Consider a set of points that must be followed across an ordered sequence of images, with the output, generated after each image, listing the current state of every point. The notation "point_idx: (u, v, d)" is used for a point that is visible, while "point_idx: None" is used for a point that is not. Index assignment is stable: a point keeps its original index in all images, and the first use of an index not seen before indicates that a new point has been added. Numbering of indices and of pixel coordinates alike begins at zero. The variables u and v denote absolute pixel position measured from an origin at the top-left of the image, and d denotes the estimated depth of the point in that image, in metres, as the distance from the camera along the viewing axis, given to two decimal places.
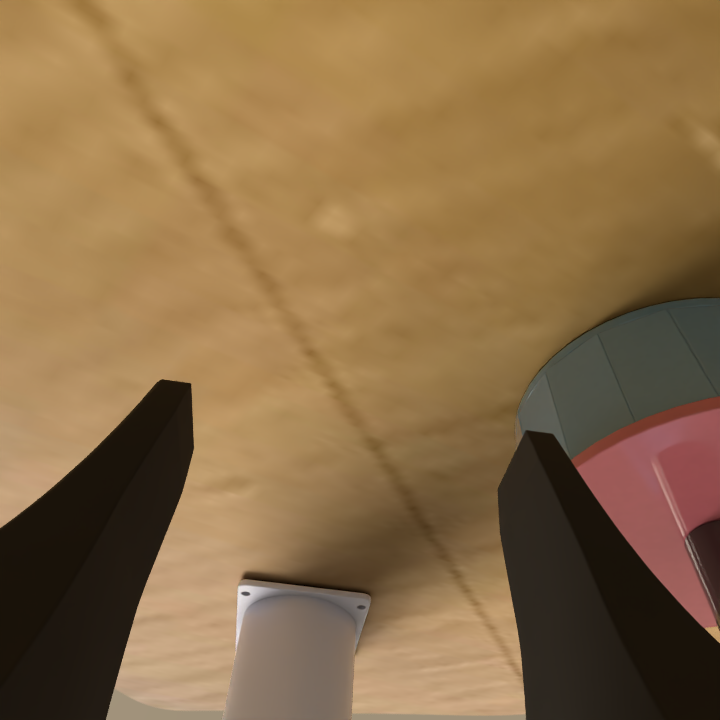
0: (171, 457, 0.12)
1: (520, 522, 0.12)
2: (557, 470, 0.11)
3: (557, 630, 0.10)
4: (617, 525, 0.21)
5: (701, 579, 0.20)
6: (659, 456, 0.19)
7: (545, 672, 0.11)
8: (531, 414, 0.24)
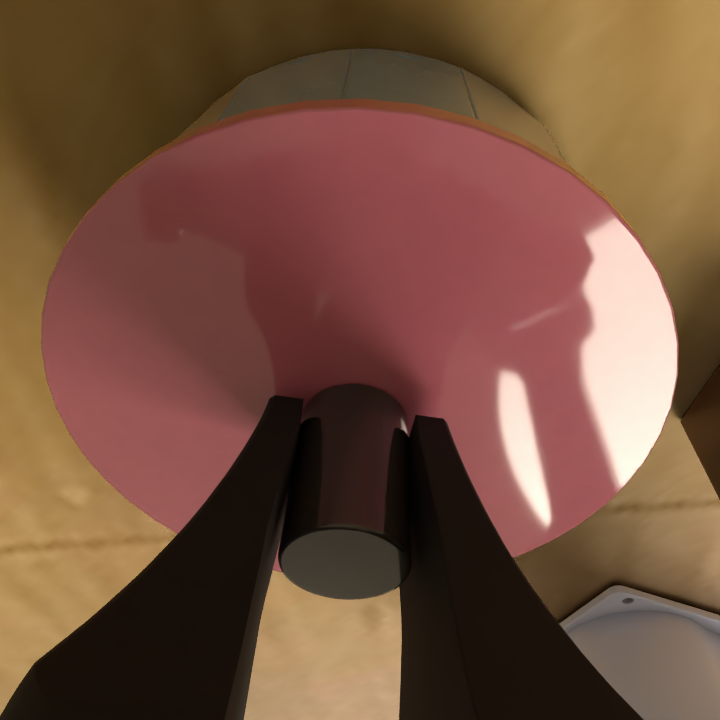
0: (290, 472, 0.12)
1: None
2: (435, 454, 0.11)
3: (422, 614, 0.10)
4: None
5: None
6: (157, 477, 0.15)
7: (413, 657, 0.10)
8: None
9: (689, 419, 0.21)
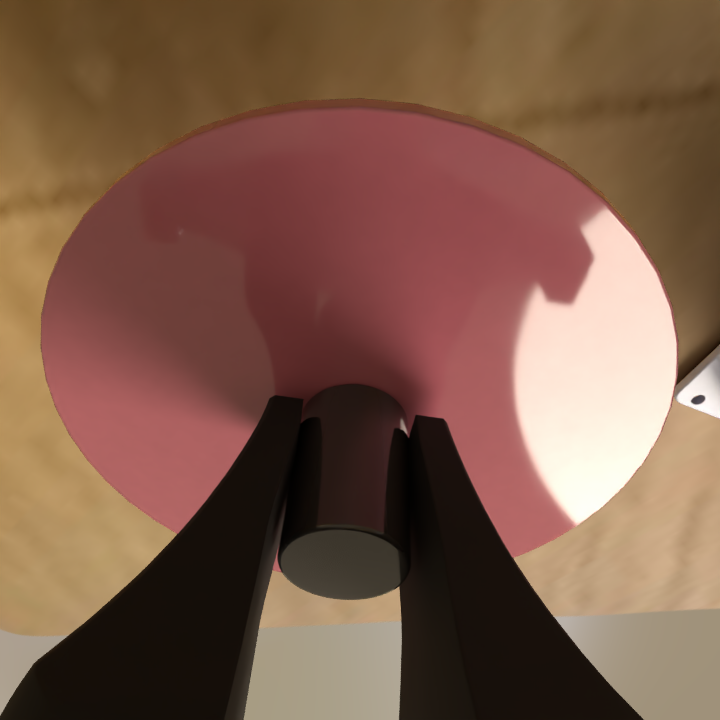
0: (290, 473, 0.12)
1: None
2: (435, 454, 0.11)
3: (422, 615, 0.10)
4: None
5: None
6: (157, 477, 0.15)
7: (412, 657, 0.10)
8: None
9: None
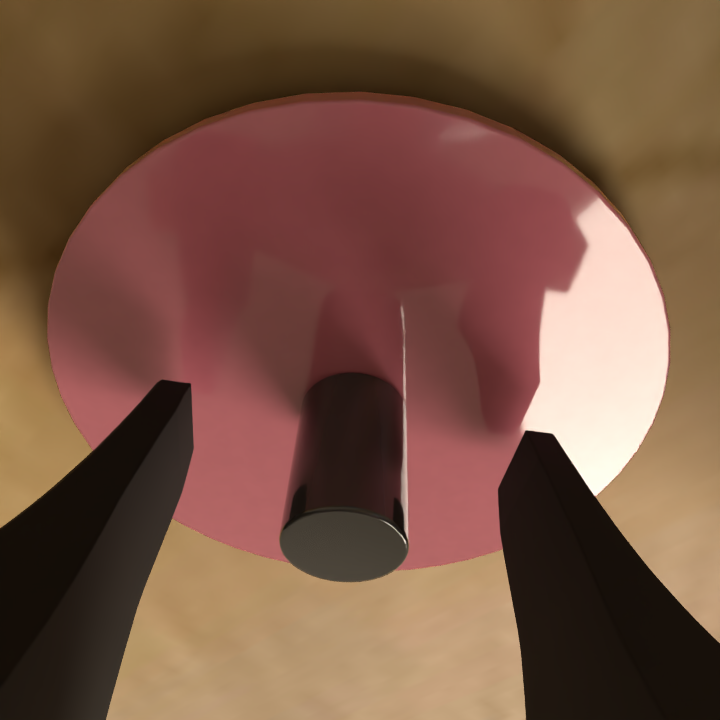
0: (171, 457, 0.12)
1: (520, 522, 0.12)
2: (557, 470, 0.11)
3: (557, 631, 0.10)
4: None
5: None
6: None
7: (545, 672, 0.11)
8: None
9: None
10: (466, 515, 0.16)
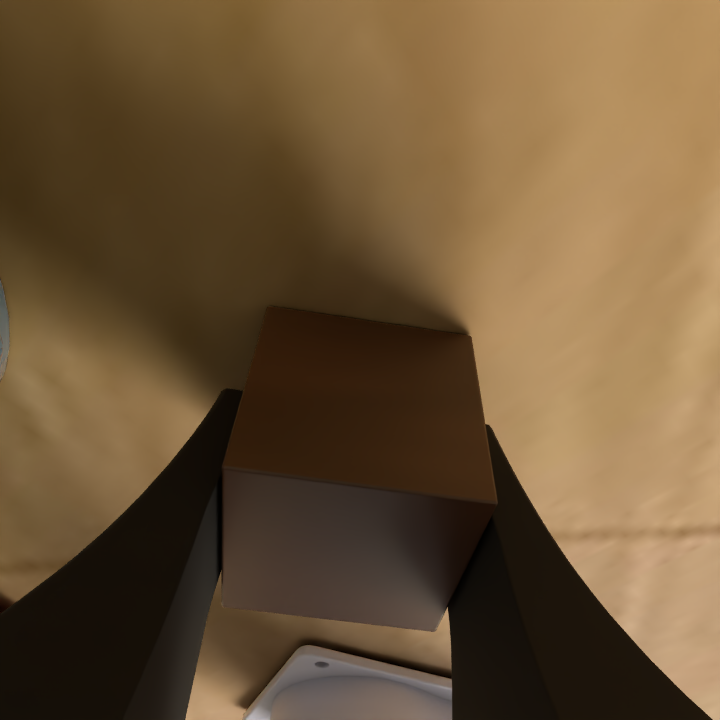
0: None
1: None
2: None
3: (478, 621, 0.10)
4: None
5: None
6: None
7: (467, 663, 0.10)
8: None
9: None
10: None
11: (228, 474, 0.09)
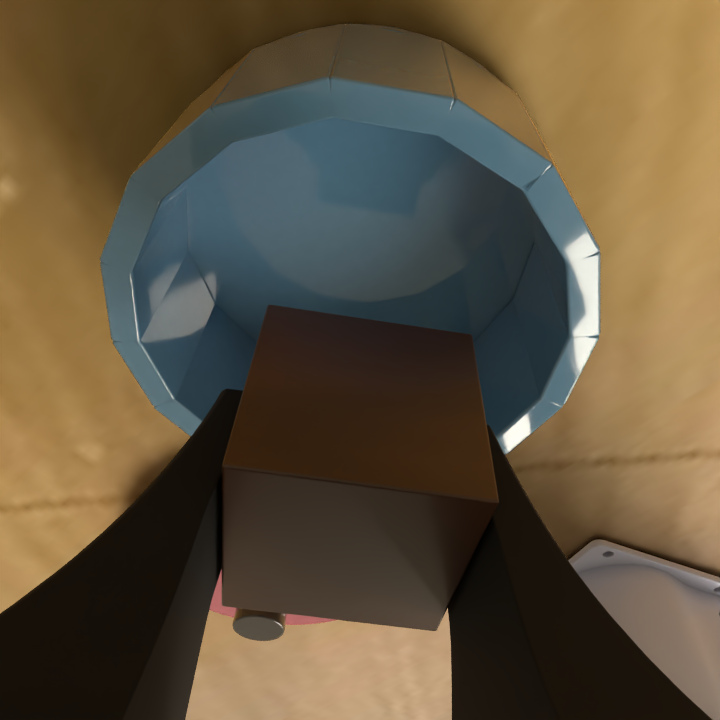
0: None
1: None
2: None
3: (477, 621, 0.10)
4: None
5: None
6: None
7: (467, 663, 0.10)
8: None
9: None
10: None
11: (228, 472, 0.09)
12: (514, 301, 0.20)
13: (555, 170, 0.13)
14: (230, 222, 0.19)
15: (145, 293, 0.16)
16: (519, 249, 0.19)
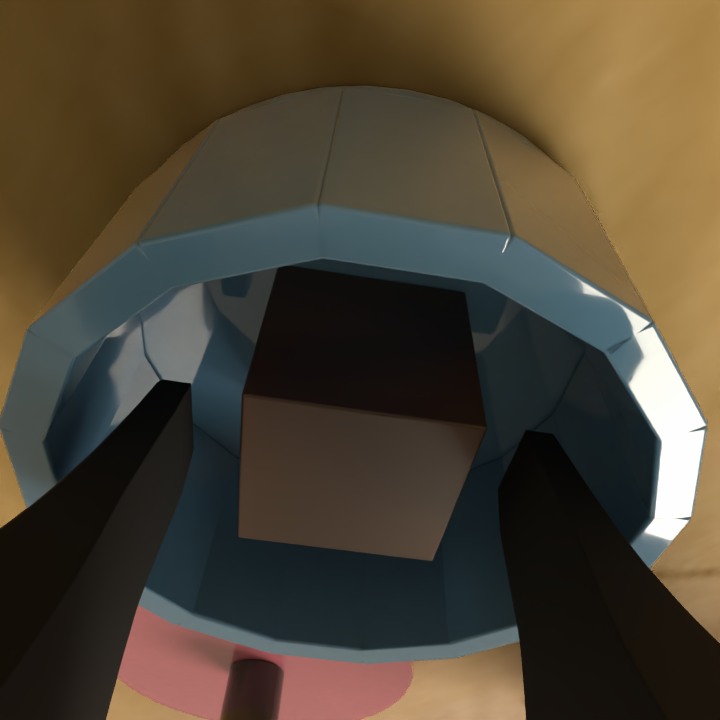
0: (171, 457, 0.12)
1: (520, 522, 0.12)
2: (557, 470, 0.11)
3: (557, 630, 0.10)
4: None
5: None
6: (156, 686, 0.28)
7: (545, 672, 0.11)
8: None
9: None
10: (328, 708, 0.29)
11: (247, 401, 0.11)
12: (556, 418, 0.16)
13: (656, 329, 0.08)
14: (196, 325, 0.15)
15: (72, 450, 0.12)
16: (564, 359, 0.15)
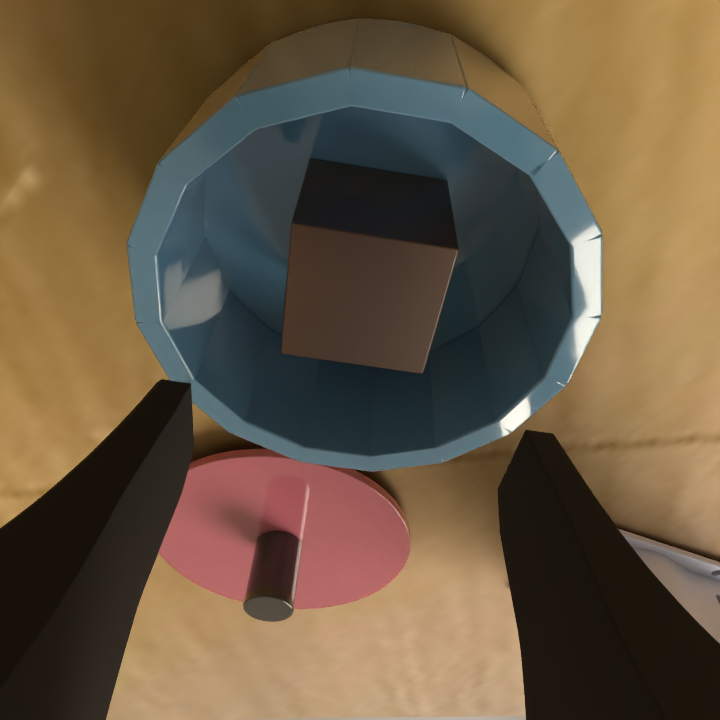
0: (172, 457, 0.12)
1: (520, 522, 0.12)
2: (557, 470, 0.11)
3: (557, 631, 0.10)
4: None
5: None
6: (192, 563, 0.33)
7: (545, 672, 0.11)
8: None
9: None
10: (338, 584, 0.34)
11: (295, 229, 0.15)
12: (519, 287, 0.21)
13: (560, 156, 0.13)
14: (245, 210, 0.20)
15: (168, 276, 0.17)
16: (523, 237, 0.20)
